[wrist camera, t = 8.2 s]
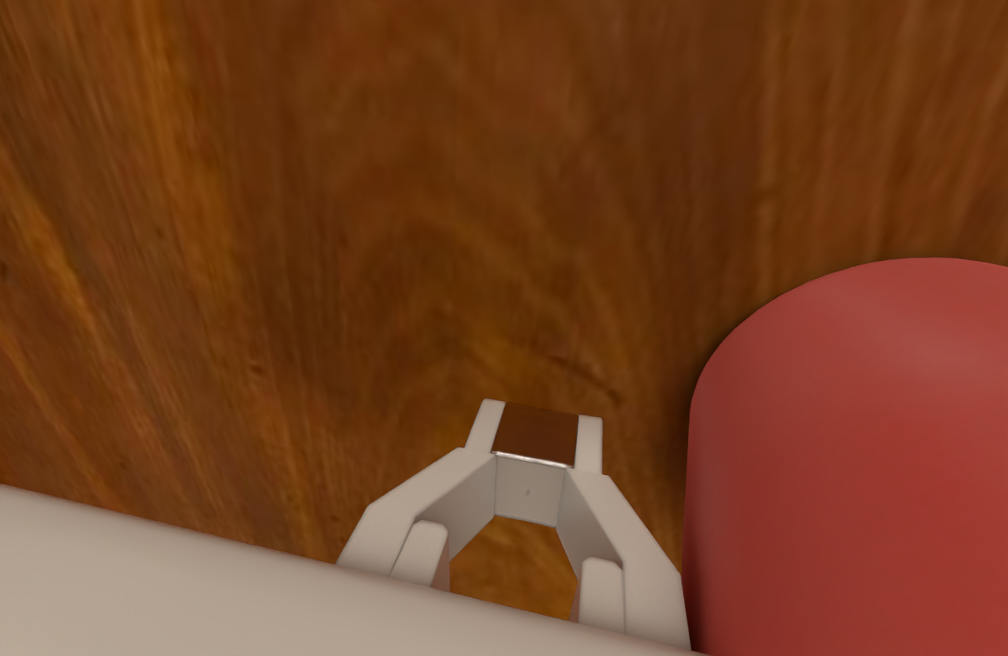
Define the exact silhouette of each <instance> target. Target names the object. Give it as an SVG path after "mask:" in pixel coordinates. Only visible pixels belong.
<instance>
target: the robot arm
mask: <svg viewBox="0 0 1008 656" xmlns="http://www.w3.org/2000/svg"><path fill="white" fill-rule="evenodd" d="M602 432H603V421H602V419H601V418H599V417H593V416H586V415H579V416H578V415H576V414H570V413H564V412H558V411H552V410H546V409H541V408H536V407H531V406H525V405H520V404H515V403H510V402H507V403H506V402H503V401H498V400H492V399H487V398H485V399H484V400H483V401H482V403H481V406H480V408H479V411H478V414H477V416H476V419H475V421H474V424H473V427H472V429H471V432H470V434H469V437H468V439H467V442H466V445H465V447H464V448H459V447H457V448H456V449H454V450H453V451H451V452H450V453H448V454H446V455H445V456H443V457H442V458H440V459H439V460H437V461H436V462H434V463H433V464H431V465H430V466H428V467H427V468H425V469H423V470H422V471H420V472H419V473H417V474H416V475H414V476H413V477H411V478H410V479H408V480H407V481H405V482H404V483H402V484H400V485H399V486H397V487H396V488H394V489H393V490H391V491H390V492H388V493H387V494H385V495H384V496H382V497H381V498H379V499H377V500H376V501H374V502H373V503H371V504H370V505H368V507H367V508H366V510H365V512H364V514H363V515H362V517H361V519H360V521H359V523H358V524H357V526H356V528H355V530H354V531H353V533H352V535H351V537H350V539H349V540H348V542H347V544H346V546H345V547H344V549H343V551H342V553H341V555H340V556H339V558H338V560H337V562H336V563H335V564H331V563H327V562H323V561H319V560H315V559H310V558H306V557H302V556H298V555H294V554H290V553H286V552H282V551H277V550H273V549H269V548H265V547H261V546H257V545H253V544H248V543H244V542H240V541H236V540H232V539H228V538H224V537H220V536H215V535H211V534H207V533H203V532H199V531H195V530H191V529H186V528H182V527H178V526H174V525H170V524H166V523H162V522H158V521H153V520H149V519H145V518H141V517H137V516H133V515H129V514H125V513H120V512H116V511H112V510H108V509H104V508H100V507H96V506H92V505H87V504H83V503H79V502H75V501H71V500H67V499H63V498H59V497H54V496H50V495H46V494H42V493H38V492H34V491H30V490H25V489H21V488H17V487H13V486H9V485H5V484H1V483H0V656H712V655H708V654H704V653H699V652H695V651H691V645H690V638H689V631H688V624H687V617H686V611H685V604H684V597H683V590H682V583H681V576H680V573H679V572H678V571H677V569H676V568H675V566H674V565H673V564H672V562H671V561H670V560H669V558H668V557H667V555H666V554H665V553H664V551H663V550H662V548H661V547H660V546H659V544H658V543H657V542H656V540H655V539H654V537H653V536H652V535H651V533H650V532H649V530H648V529H647V528H646V526H645V525H644V524H643V522H642V521H641V519H640V518H639V517H638V515H637V514H636V513H635V511H634V510H633V508H632V507H631V506H630V504H629V503H628V501H627V500H626V499H625V497H624V496H623V495H622V493H621V492H620V490H619V489H618V488H617V486H616V485H615V483H614V482H613V481H612V479H611V478H610V477H609V476H607V475H602ZM494 515H496V516H502V517H507V518H513V519H518V520H524V521H528V522H532V523H537V524H541V525H545V526H549V527H553V528H556V531H557V534H558V536H559V538H560V541H561V543H562V545H563V547H564V550H565V552H566V554H567V557H568V559H569V561H570V564H571V566H572V568H573V570H574V573H575V575H576V577H577V580H578V583H577V587H576V591H575V595H574V600H573V604H572V608H571V612H570V617H569V621H567V620H562V619H558V618H554V617H550V616H546V615H542V614H538V613H533V612H529V611H525V610H521V609H517V608H513V607H509V606H505V605H500V604H496V603H492V602H488V601H484V600H480V599H476V598H471V597H467V596H463V595H459V594H455V593H451V592H450V574H449V562H450V561H451V560H452V559H453V558H454V557H455V556H456V555H457V554H458V553H459V552H460V551H461V550H462V549H463V548H464V547H465V546H466V545H467V544H468V543H469V542H470V541H471V540H472V539H473V538H474V537H475V536H476V535H477V534H478V533H479V532H480V531H481V530H482V529H483V528H484V527H485V526H486V525H487V524H488V523H489V522H490V521H491V520H492V519H493V518H494Z"/></svg>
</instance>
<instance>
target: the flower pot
mask: <svg viewBox="0 0 1008 656" xmlns="http://www.w3.org/2000/svg"><path fill="white" fill-rule="evenodd" d="M682 590H683V597H684V604H685V611H686V617H687V624H688V631H689V638H690V645H691V651H695V652H699V653H704V654H708V655H712V656H1008V267H1005V266H1001V265H996V264H990V263H985V262H980V261H974V260H965V259H957V258H905V259H893V260H884V261H878V262H872V263H868V264H863V265H858V266H855V267H851V268H848V269H845V270H841V271H837V272H834V273H831V274H828V275H825V276H822V277H820V278H817V279H814V280H812V281H809V282H807V283H805V284H803V285H801V286H799V287H796V288H794V289H792V290H790V291H788V292H786V293H784V294H782V295H780V296H779V297H777V298H775V299H774V300H772V301H771V302H769V303H768V304H766V305H764V306H763V307H761V308H760V309H759V310H757V311H756V312H755V313H753V314H752V315H751V316H749V317H748V318H747V319H746V320H744V321H743V322H742V323H741V324H740V325H738V326H737V327H736V328H735V329H734V330H733V331H732V332H731V333H730V334H729V335H728V336H727V337H726V338H725V339H724V340H723V341H722V343H721V344H720V345H719V346H718V348H717V349H716V350H715V352H714V353H713V354H712V356H711V357H710V359H709V360H708V362H707V363H706V365H705V367H704V369H703V371H702V373H701V375H700V377H699V379H698V382H697V385H696V388H695V391H694V394H693V397H692V401H691V407H690V419H689V436H688V455H687V475H686V490H685V507H684V527H683V554H682Z"/></svg>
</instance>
